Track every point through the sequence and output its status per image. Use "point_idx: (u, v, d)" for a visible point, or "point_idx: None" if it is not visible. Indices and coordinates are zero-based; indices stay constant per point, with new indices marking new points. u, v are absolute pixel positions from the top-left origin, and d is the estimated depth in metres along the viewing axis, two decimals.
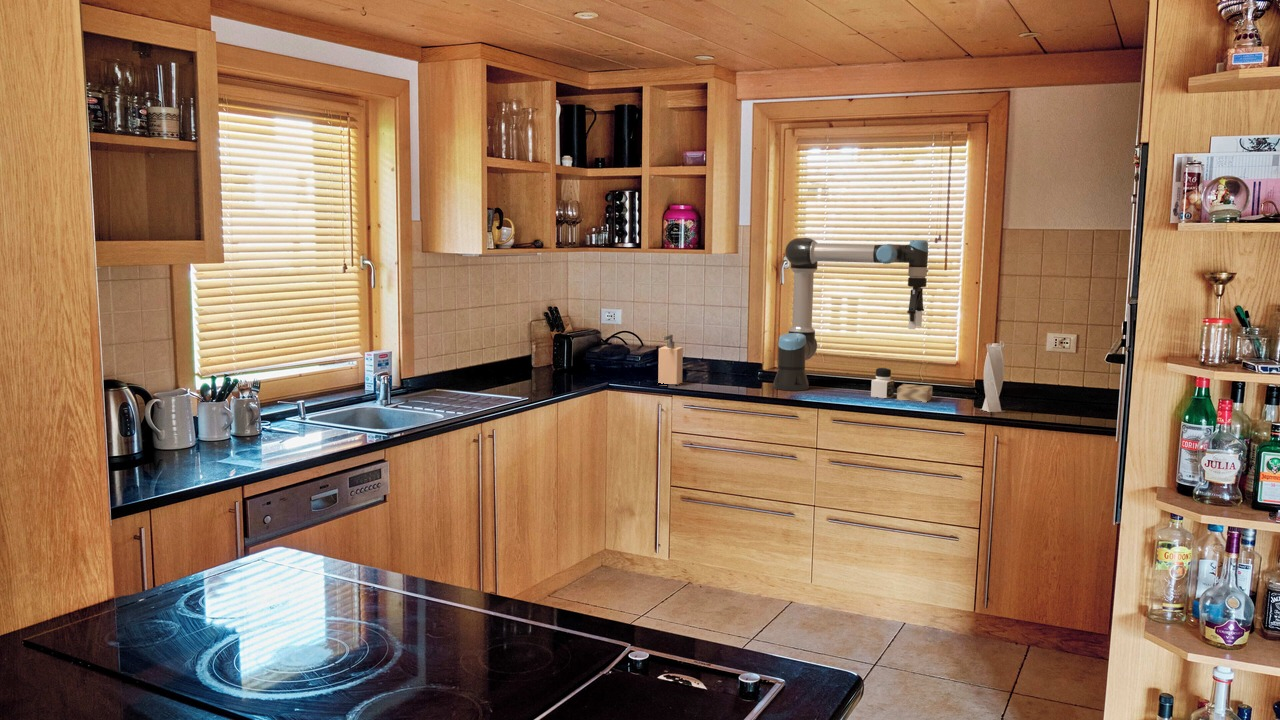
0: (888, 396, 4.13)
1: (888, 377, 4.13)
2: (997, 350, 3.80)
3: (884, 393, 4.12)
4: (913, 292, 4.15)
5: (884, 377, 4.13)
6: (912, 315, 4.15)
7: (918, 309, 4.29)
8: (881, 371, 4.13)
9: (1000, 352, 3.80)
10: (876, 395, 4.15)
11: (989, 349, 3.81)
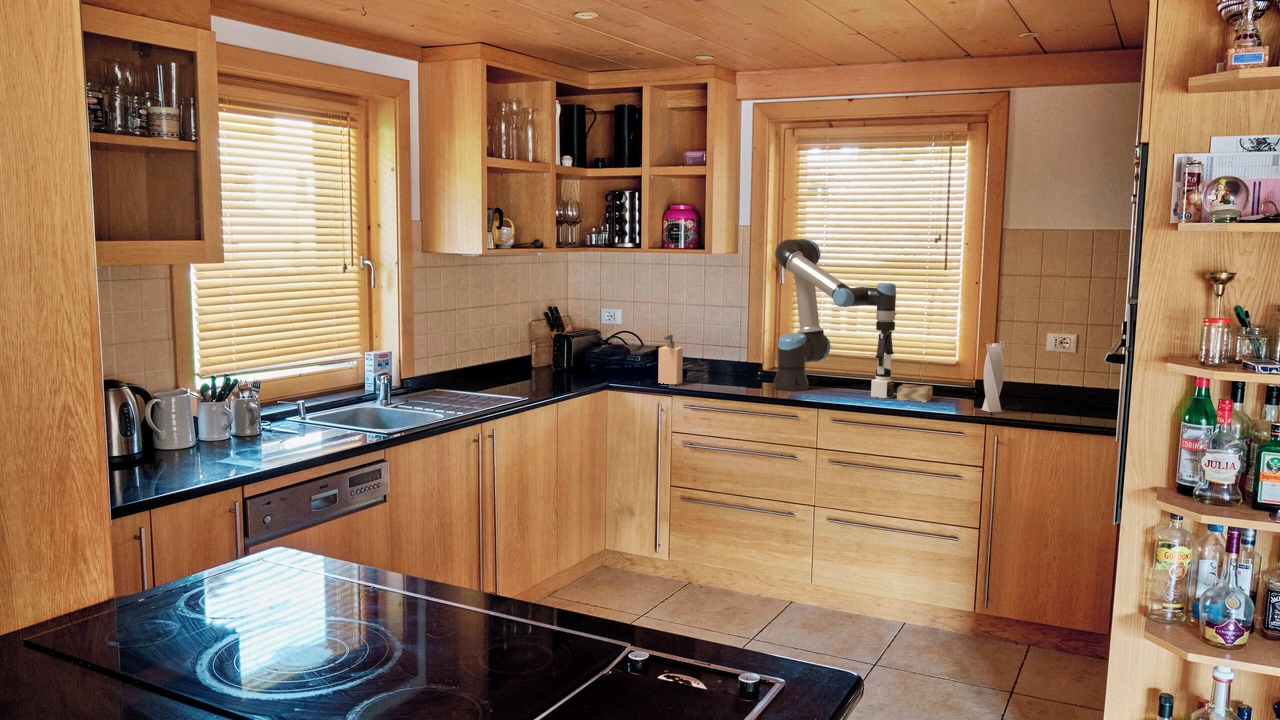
0: (888, 396, 4.13)
1: (888, 377, 4.13)
2: (997, 350, 3.80)
3: (884, 393, 4.12)
4: (881, 336, 4.07)
5: (884, 377, 4.13)
6: (880, 360, 4.07)
7: (887, 352, 4.21)
8: None
9: (1000, 352, 3.80)
10: (876, 395, 4.15)
11: (989, 349, 3.81)
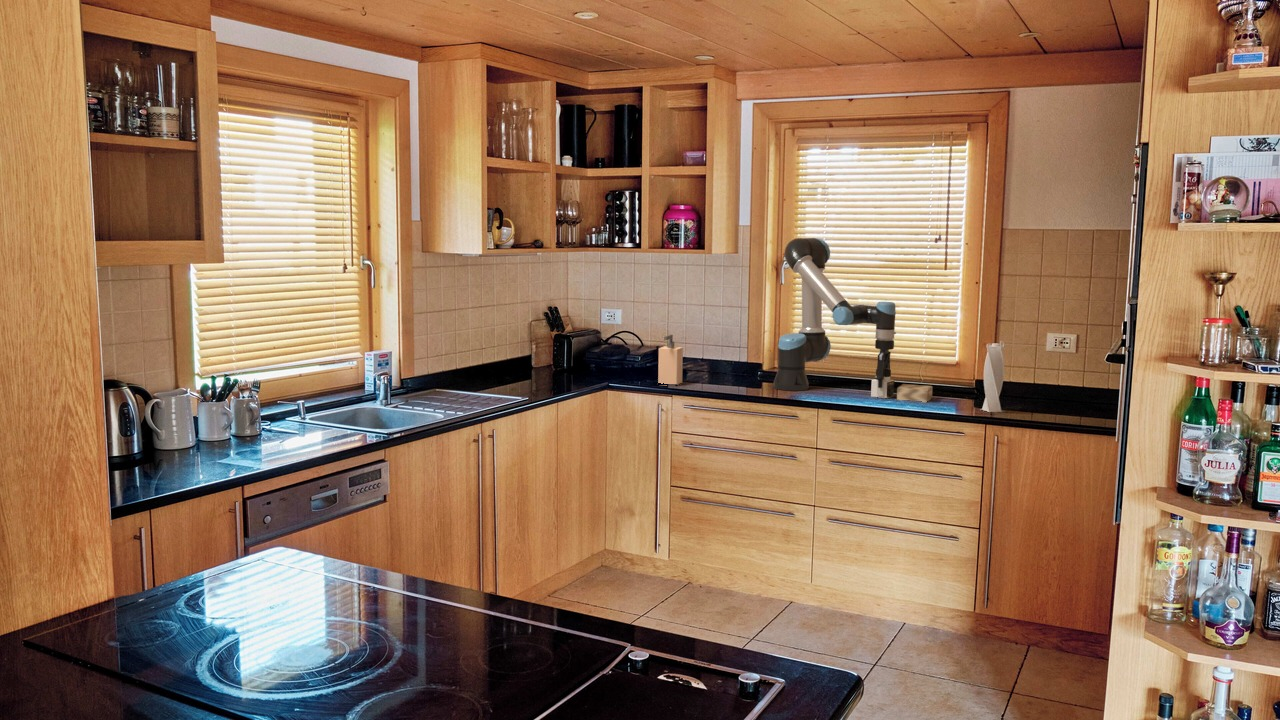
0: (888, 396, 4.13)
1: (888, 377, 4.13)
2: (997, 350, 3.80)
3: (884, 392, 4.12)
4: (880, 358, 4.09)
5: (884, 377, 4.13)
6: (880, 381, 4.11)
7: None
8: None
9: (1000, 352, 3.80)
10: (876, 395, 4.15)
11: (989, 349, 3.81)
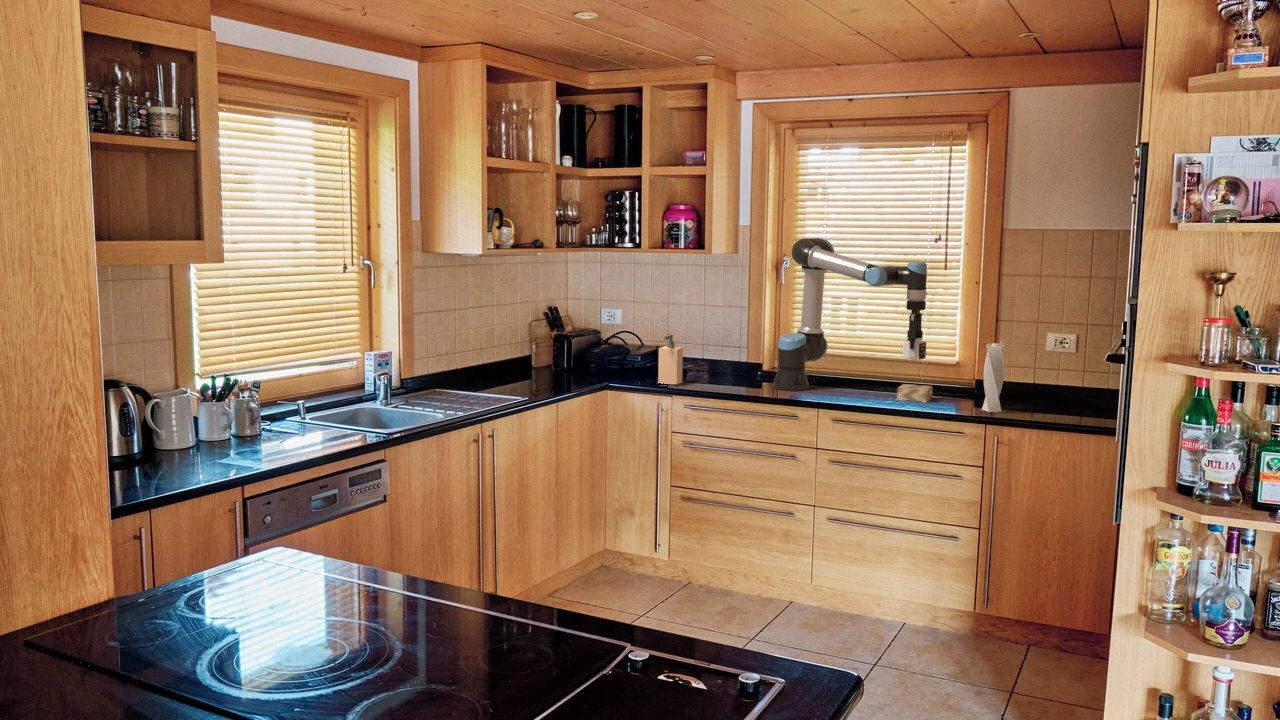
0: (920, 358, 4.06)
1: (920, 338, 4.07)
2: (997, 350, 3.80)
3: (916, 354, 4.06)
4: (912, 318, 4.02)
5: (916, 338, 4.06)
6: (912, 343, 4.04)
7: None
8: None
9: (1000, 352, 3.80)
10: (908, 357, 4.08)
11: (989, 349, 3.81)
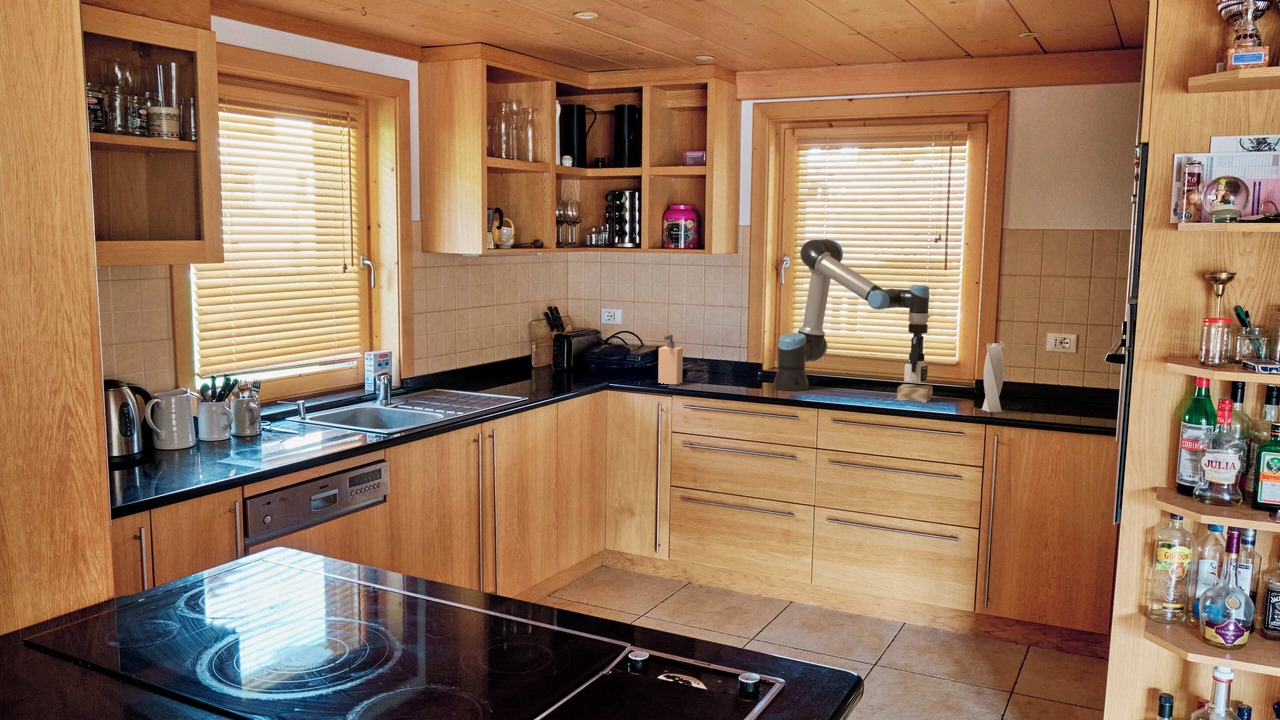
0: (922, 381, 4.07)
1: (922, 361, 4.08)
2: (997, 350, 3.80)
3: (917, 377, 4.07)
4: (914, 342, 4.03)
5: (918, 361, 4.07)
6: (914, 366, 4.05)
7: None
8: None
9: (1000, 352, 3.80)
10: (909, 380, 4.09)
11: (989, 349, 3.81)
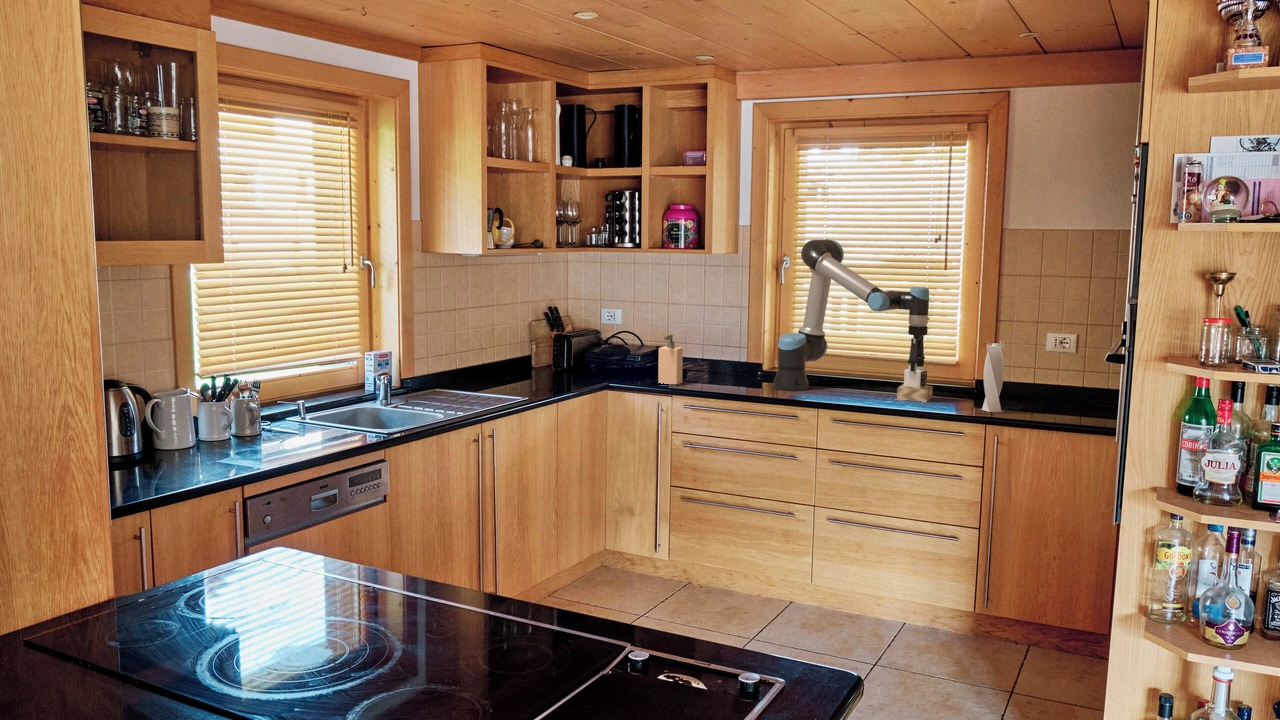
0: (921, 386, 4.08)
1: (921, 366, 4.08)
2: (997, 350, 3.80)
3: (917, 382, 4.07)
4: (914, 341, 4.03)
5: (917, 366, 4.08)
6: (913, 365, 4.03)
7: (919, 357, 4.17)
8: None
9: (1000, 352, 3.80)
10: (909, 385, 4.09)
11: (989, 349, 3.81)
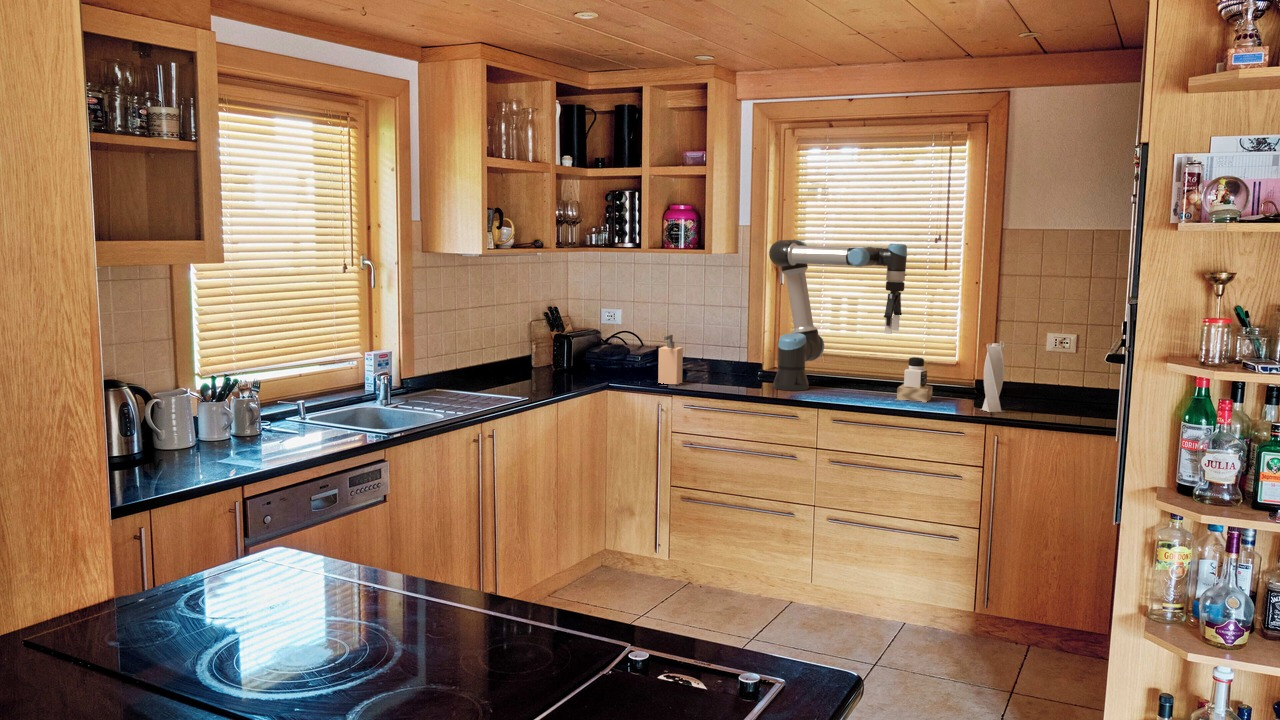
0: (921, 386, 4.08)
1: (921, 366, 4.08)
2: (997, 350, 3.80)
3: (917, 382, 4.07)
4: (890, 296, 4.11)
5: (917, 366, 4.08)
6: (888, 319, 4.11)
7: (896, 313, 4.25)
8: (914, 360, 4.08)
9: (1000, 352, 3.80)
10: (909, 385, 4.09)
11: (989, 349, 3.81)
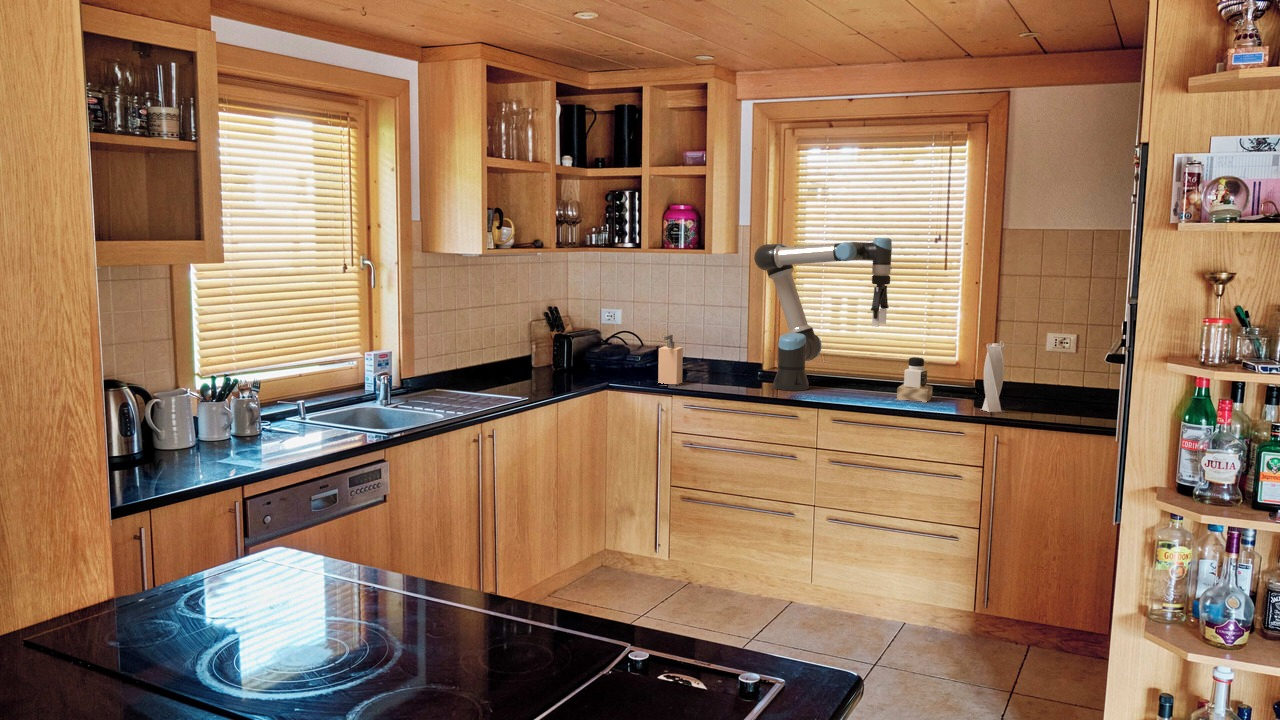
0: (921, 386, 4.08)
1: (921, 366, 4.08)
2: (997, 350, 3.80)
3: (917, 382, 4.07)
4: (876, 289, 4.17)
5: (917, 366, 4.08)
6: (875, 312, 4.17)
7: (883, 306, 4.31)
8: (914, 360, 4.08)
9: (1000, 352, 3.80)
10: (909, 385, 4.09)
11: (989, 349, 3.81)
